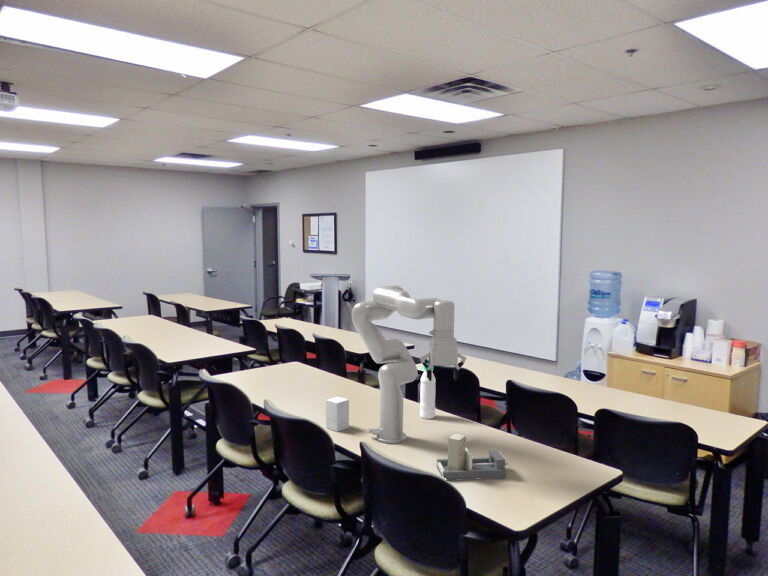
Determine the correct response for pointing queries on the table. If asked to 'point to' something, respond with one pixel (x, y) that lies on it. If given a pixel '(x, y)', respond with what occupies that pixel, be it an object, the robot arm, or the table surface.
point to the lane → (476, 468)
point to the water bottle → (427, 396)
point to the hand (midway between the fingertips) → (442, 379)
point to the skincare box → (456, 452)
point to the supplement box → (337, 413)
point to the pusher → (469, 463)
